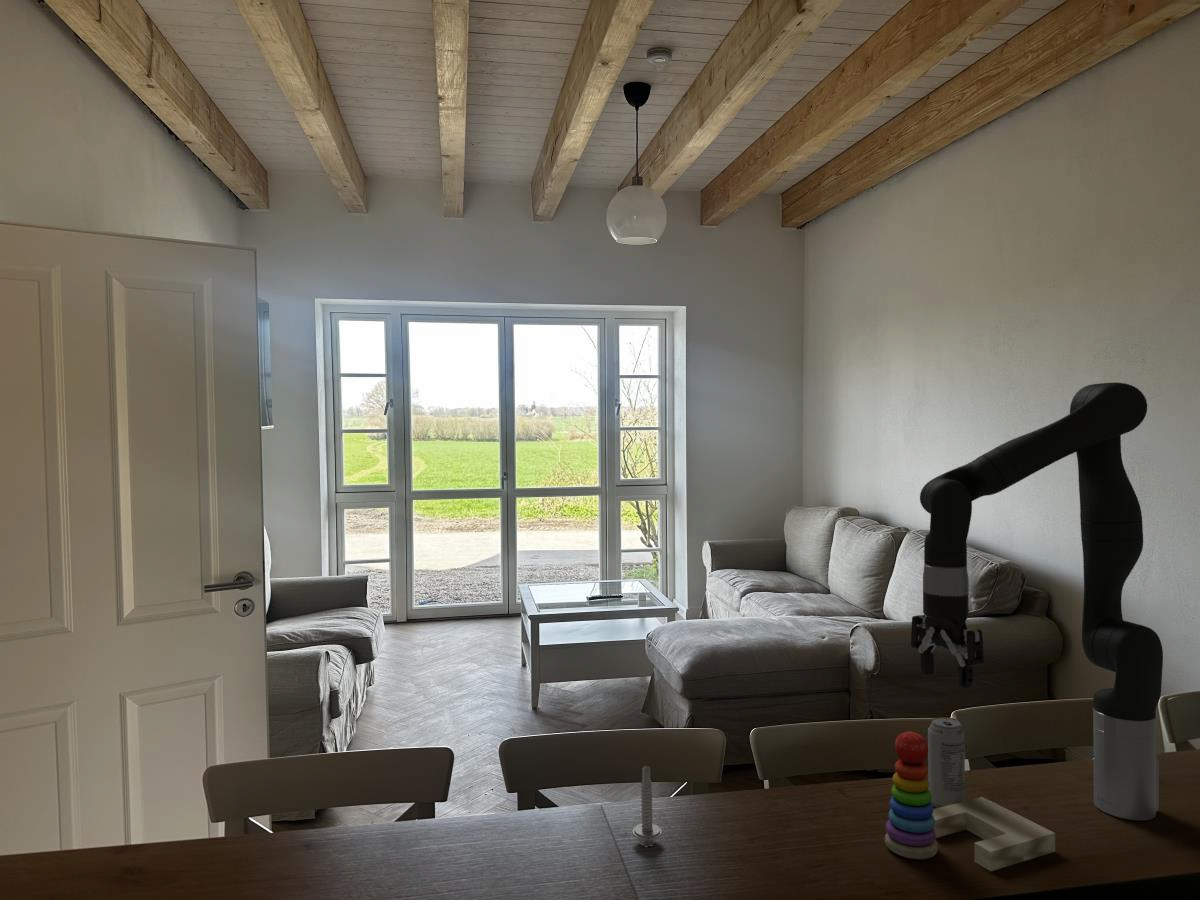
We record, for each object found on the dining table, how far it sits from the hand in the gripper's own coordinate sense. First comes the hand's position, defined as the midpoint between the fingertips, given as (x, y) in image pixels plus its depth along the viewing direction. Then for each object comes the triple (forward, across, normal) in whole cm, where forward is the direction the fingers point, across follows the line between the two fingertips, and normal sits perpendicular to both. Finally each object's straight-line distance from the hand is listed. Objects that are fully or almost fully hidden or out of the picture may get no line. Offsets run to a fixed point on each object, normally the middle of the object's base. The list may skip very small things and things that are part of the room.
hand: (945, 680), depth 142 cm
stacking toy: (+23, -9, +17) cm, 30 cm away
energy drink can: (+23, 0, 0) cm, 23 cm away
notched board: (+23, -12, +4) cm, 26 cm away
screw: (+23, +10, +55) cm, 60 cm away
